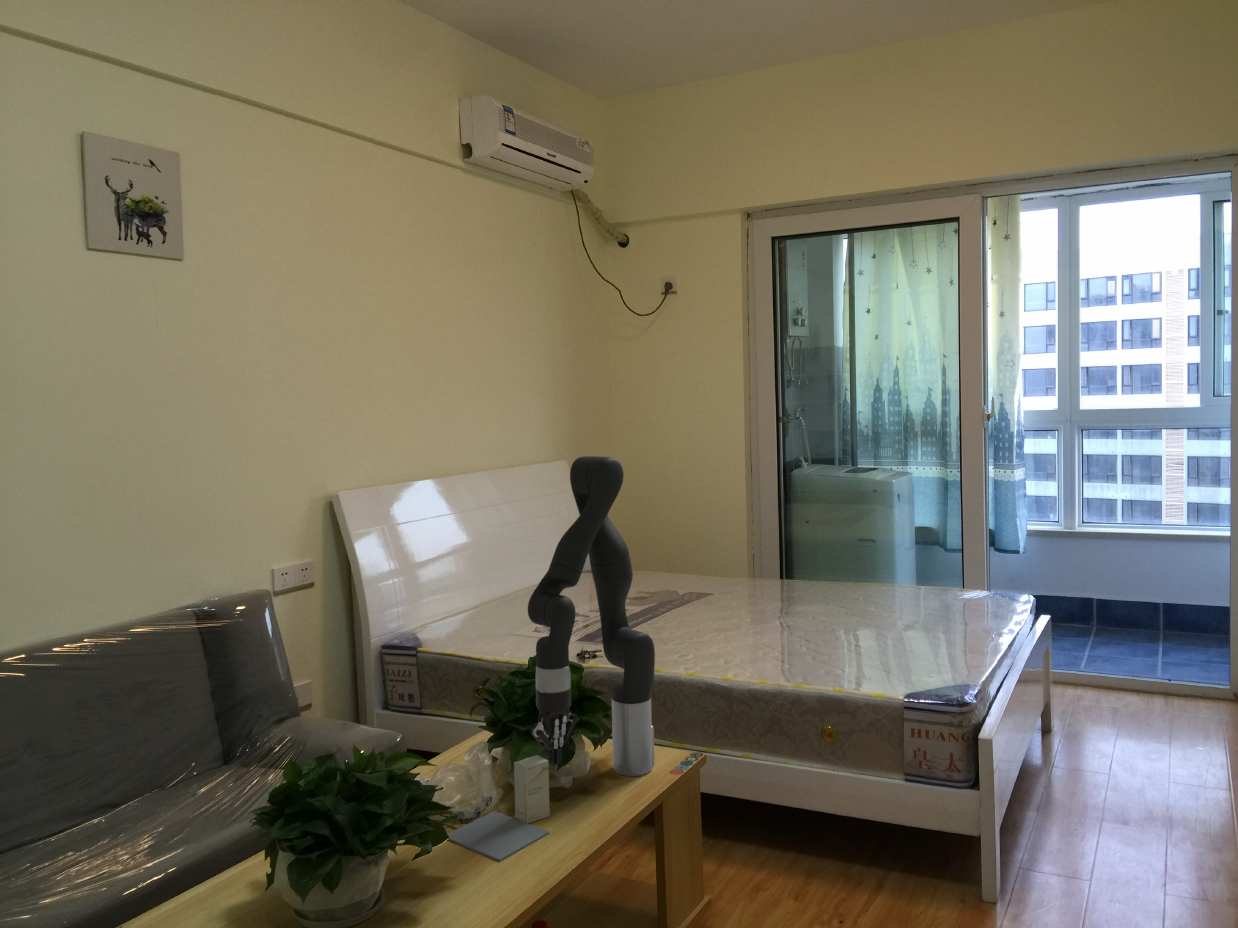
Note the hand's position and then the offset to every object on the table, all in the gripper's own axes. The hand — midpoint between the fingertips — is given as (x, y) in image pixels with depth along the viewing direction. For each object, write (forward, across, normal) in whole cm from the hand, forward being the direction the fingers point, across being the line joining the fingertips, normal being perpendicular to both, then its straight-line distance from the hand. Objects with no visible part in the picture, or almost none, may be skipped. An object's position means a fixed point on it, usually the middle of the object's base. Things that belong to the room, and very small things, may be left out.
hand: (555, 763), depth 208 cm
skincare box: (+9, +7, 0) cm, 12 cm away
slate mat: (+9, +18, 0) cm, 20 cm away
